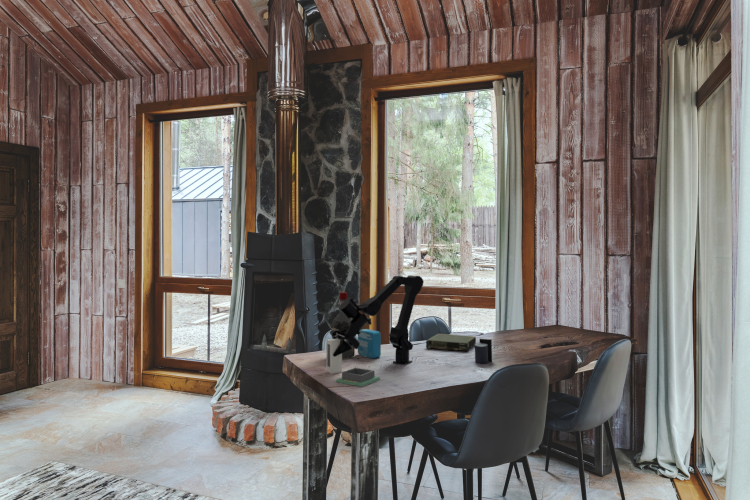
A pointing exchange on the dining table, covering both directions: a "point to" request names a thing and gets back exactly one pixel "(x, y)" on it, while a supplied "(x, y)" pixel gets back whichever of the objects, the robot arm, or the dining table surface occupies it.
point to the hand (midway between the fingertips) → (331, 354)
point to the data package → (369, 343)
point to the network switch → (451, 342)
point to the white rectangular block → (333, 362)
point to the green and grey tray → (358, 377)
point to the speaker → (483, 351)
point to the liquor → (342, 317)
